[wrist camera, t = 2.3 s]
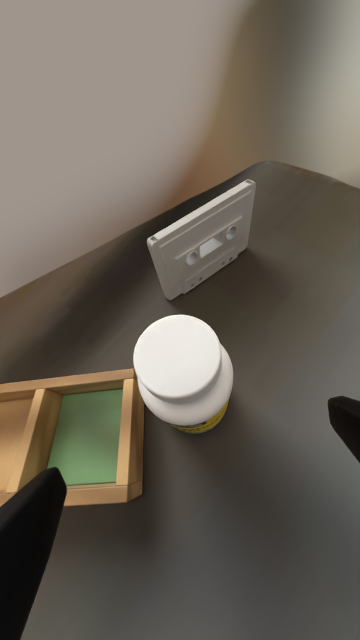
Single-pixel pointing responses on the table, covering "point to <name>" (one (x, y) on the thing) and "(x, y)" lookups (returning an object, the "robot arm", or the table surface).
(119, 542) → the table surface
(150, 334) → the supplement bottle
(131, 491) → the tray
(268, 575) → the table surface
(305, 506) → the table surface
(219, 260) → the cassette
